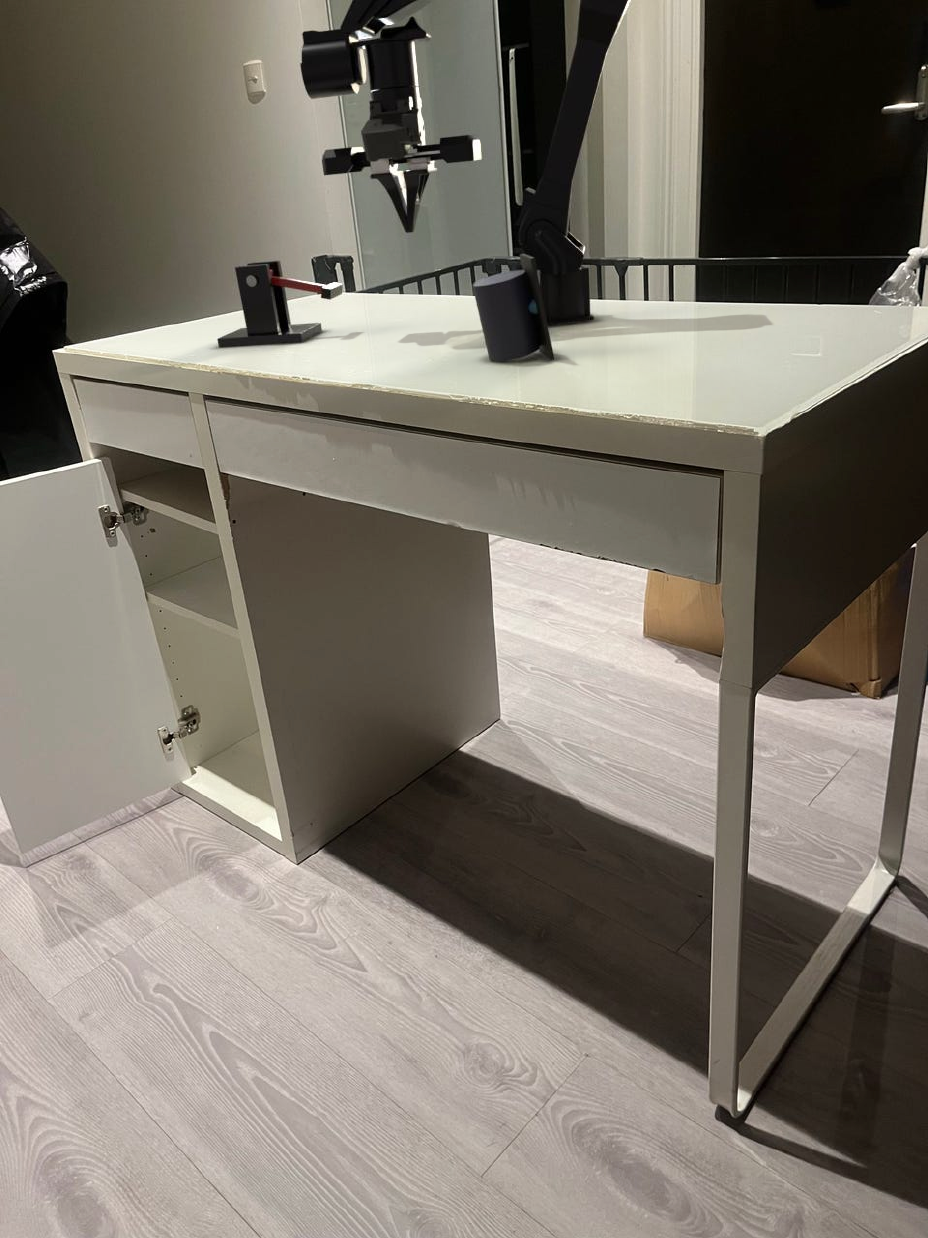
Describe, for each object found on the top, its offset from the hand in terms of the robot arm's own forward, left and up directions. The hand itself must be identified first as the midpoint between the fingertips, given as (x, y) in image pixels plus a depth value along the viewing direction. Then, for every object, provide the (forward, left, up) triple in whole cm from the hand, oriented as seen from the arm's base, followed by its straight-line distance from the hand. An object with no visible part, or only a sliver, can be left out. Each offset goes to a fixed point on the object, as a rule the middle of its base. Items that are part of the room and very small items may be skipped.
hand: (409, 232), depth 116 cm
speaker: (-8, +25, -12) cm, 29 cm away
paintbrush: (+16, -7, -6) cm, 18 cm away
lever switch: (+20, -8, -12) cm, 25 cm away
